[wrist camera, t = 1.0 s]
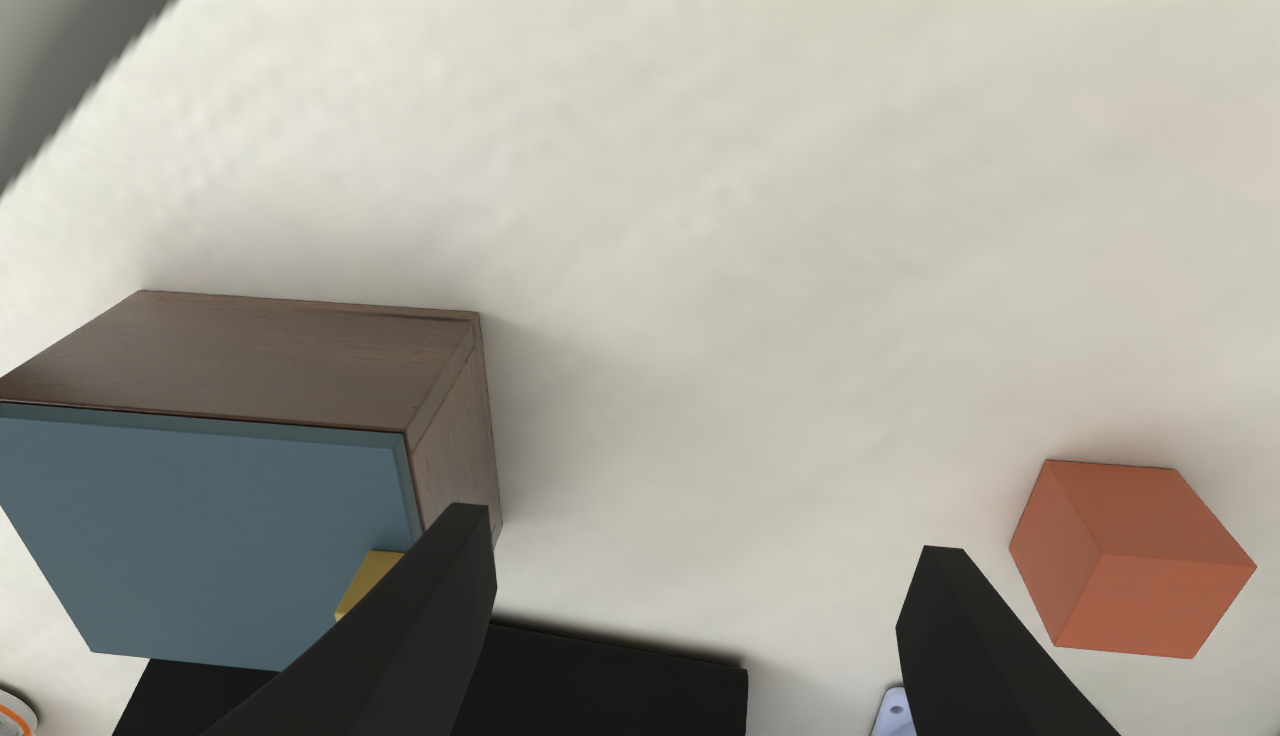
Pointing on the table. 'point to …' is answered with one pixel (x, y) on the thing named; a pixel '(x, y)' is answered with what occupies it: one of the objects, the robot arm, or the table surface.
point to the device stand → (495, 692)
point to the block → (1126, 559)
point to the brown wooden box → (289, 377)
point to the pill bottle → (15, 717)
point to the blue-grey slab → (204, 527)
